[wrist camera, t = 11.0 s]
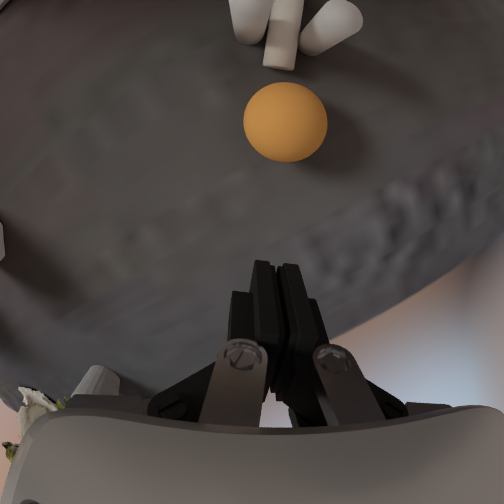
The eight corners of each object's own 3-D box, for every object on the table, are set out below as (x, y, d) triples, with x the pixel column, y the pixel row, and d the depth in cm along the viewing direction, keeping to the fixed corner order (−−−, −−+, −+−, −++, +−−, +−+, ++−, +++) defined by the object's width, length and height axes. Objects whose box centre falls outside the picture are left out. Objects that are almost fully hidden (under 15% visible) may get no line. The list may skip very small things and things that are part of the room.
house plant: (43, 348, 35) (2, 428, 21) (92, 328, 33) (44, 433, 18) (101, 401, 42) (78, 478, 27) (157, 391, 39) (138, 487, 25)
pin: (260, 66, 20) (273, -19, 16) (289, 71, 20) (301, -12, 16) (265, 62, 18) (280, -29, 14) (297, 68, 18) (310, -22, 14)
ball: (236, 145, 17) (231, 151, 22) (327, 174, 18) (301, 171, 24) (263, 59, 15) (251, 84, 21) (349, 91, 16) (319, 106, 22)
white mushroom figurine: (62, 401, 43) (35, 475, 27) (68, 424, 49) (48, 486, 33) (16, 377, 41) (-15, 443, 25) (27, 404, 47) (3, 461, 30)
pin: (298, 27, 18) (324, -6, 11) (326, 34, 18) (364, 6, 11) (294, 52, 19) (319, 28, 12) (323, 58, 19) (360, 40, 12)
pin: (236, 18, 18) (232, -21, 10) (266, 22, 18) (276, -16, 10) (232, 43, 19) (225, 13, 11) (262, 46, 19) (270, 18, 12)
